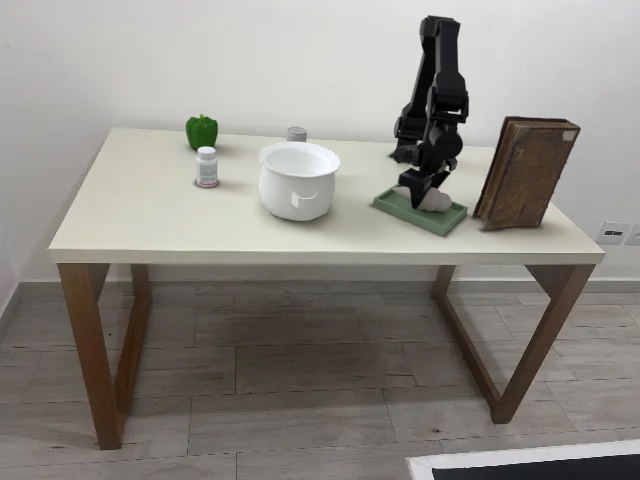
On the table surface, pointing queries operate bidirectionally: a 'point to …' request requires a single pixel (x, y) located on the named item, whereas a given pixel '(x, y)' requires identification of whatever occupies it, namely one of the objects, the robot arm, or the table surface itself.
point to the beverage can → (296, 134)
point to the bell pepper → (201, 132)
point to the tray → (420, 212)
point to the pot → (297, 179)
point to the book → (525, 171)
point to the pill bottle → (206, 167)
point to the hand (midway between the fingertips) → (420, 203)
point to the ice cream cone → (428, 199)
